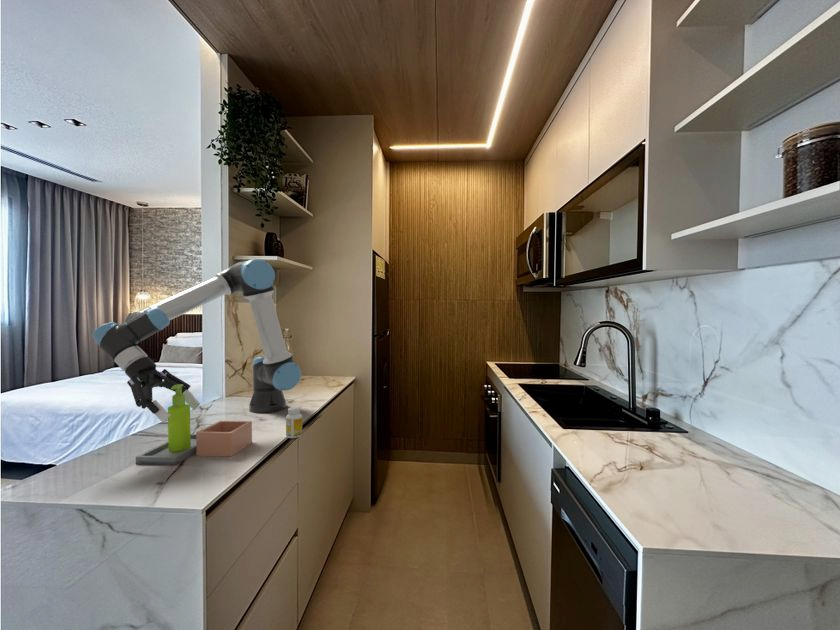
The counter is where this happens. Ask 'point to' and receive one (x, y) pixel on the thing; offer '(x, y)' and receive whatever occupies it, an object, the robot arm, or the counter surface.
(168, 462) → the grey tray
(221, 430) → the terracotta open box
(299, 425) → the supplement bottle
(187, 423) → the soap dispenser
